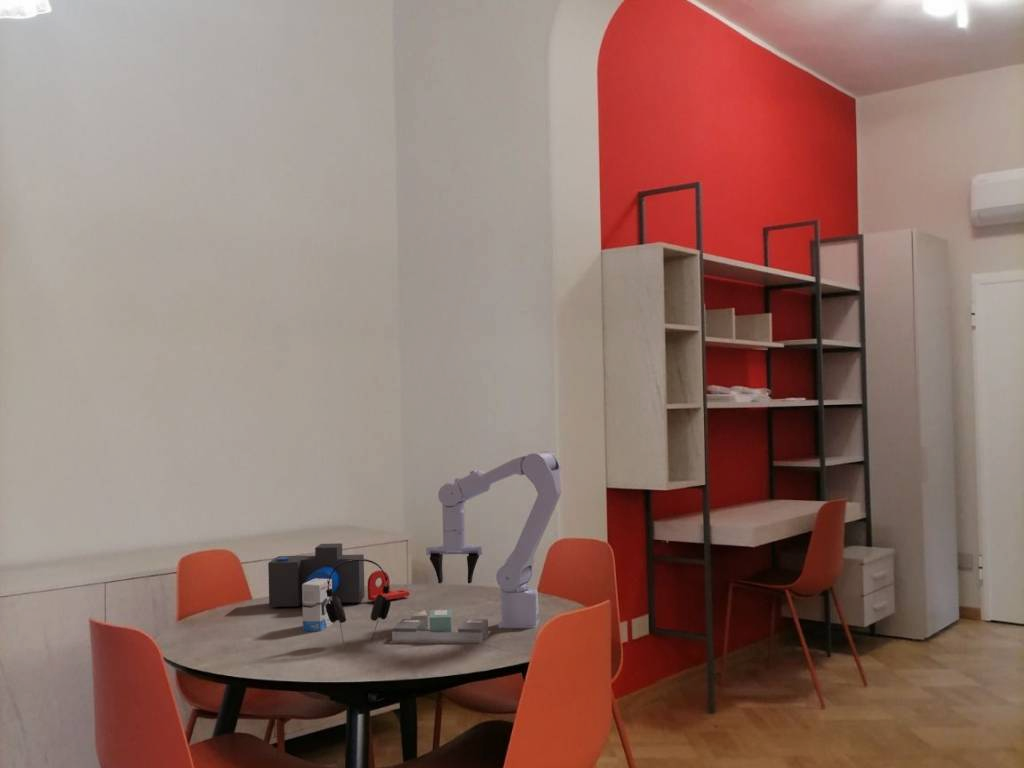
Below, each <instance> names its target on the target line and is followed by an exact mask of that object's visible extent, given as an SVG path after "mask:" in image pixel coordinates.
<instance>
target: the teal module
mask: <svg viewBox="0 0 1024 768" xmlns="http://www.w3.org/2000/svg"><path fill="white" fill-rule="evenodd" d="M452 610H453V609H431V610H430V614H429V630H430V631H453V619H452V618H453V615H452V613H453V612H452Z"/></svg>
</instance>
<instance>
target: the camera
mask: <svg viewBox="0 0 1024 768" xmlns="http://www.w3.org/2000/svg"><path fill="white" fill-rule="evenodd" d="M314 553H315V554H314V555H280V556H276V558H273V559H271V560H270V561H269V562H268V563H267V564H268V566H267V567H268V607H269V608H271V607H275V608H276V607H279V608H280V607H299V606H302V605H303V602H302V585H303V584H304V583H306V582H308V581H310V580H313V579H316V578H317V579H329V578H330V575H331V573H332V571H333V570H334V569H335V567H337V566H338V565H339V564H341V563H343V562H345V561H347V560H352V559H365V558H364V557H365V556H364V554H343V543H341V542H340V543H320V544H319V545H317V546H315V547H314ZM330 579H332V593H333V596H332V600H333V598H335V597H338V598H339V599H340V602H341V604H343V603H346V604H347V603H360V602H361V601H363V599H364V598H365V594H366V593H365V561H351V562H348V563H345V564H342V565H341V566H339V567H338V568H337V569H336V570H335V571H334V572H333V574H332V576H331V578H330Z"/></svg>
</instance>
